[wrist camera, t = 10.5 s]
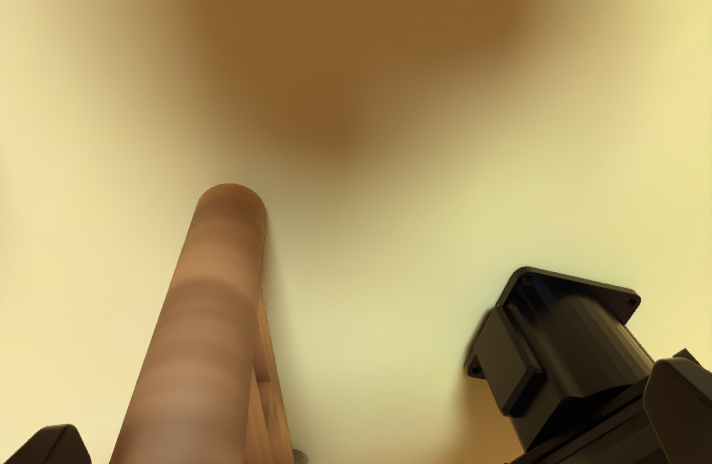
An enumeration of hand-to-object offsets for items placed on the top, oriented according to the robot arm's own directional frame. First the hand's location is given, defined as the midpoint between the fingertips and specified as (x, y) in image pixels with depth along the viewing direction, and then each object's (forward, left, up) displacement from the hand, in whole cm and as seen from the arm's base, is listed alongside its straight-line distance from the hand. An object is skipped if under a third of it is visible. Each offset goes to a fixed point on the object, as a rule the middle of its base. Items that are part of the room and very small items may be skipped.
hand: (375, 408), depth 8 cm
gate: (0, +10, -12) cm, 16 cm away
